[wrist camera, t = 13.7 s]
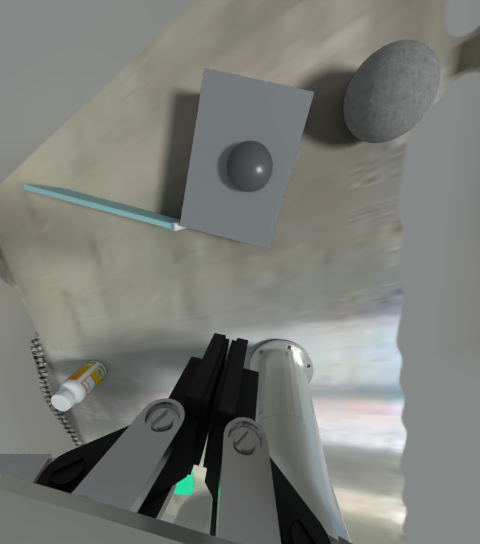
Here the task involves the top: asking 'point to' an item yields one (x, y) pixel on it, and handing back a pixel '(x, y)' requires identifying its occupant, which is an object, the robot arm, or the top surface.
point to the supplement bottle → (79, 385)
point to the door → (107, 206)
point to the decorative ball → (391, 91)
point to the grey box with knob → (242, 156)
